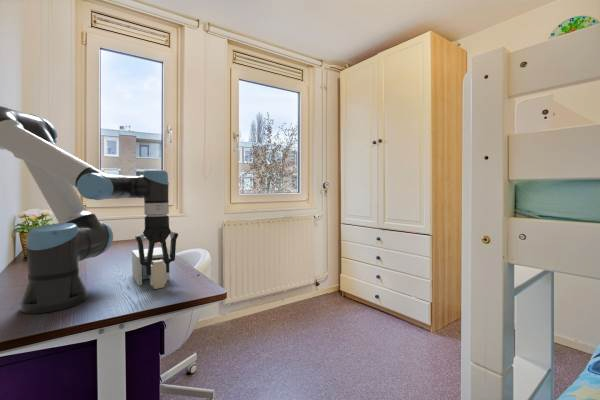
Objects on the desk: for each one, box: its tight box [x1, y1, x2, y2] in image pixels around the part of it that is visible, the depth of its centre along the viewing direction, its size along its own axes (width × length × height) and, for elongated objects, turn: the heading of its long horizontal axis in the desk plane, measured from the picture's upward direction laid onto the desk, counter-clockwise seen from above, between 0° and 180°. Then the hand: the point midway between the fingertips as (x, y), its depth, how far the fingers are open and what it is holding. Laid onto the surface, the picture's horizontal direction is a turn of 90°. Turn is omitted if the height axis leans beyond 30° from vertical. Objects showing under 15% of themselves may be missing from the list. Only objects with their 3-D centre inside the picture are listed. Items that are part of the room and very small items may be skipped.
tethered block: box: [142, 258, 165, 290], centre depth 108 cm, size 6×20×9 cm, turn 36°
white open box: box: [131, 246, 171, 286], centre depth 113 cm, size 10×15×10 cm
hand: (158, 283), depth 101 cm, fingers closed on tethered block, 3 cm apart
